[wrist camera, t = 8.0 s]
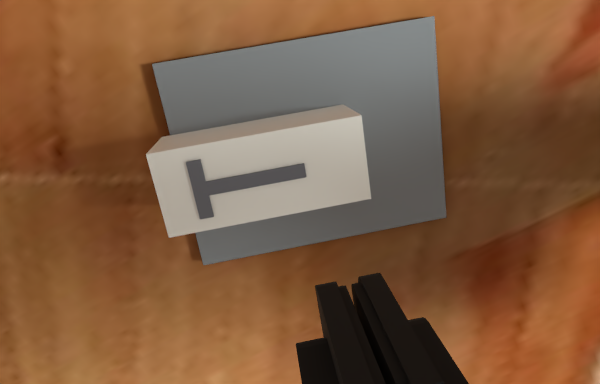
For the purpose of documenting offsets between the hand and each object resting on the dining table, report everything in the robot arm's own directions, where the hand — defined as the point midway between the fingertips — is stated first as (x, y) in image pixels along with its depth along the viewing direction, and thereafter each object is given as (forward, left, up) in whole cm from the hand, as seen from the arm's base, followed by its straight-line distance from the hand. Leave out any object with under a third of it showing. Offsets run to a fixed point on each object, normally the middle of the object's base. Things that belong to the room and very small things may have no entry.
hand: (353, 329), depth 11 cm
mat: (-2, 0, -21) cm, 21 cm away
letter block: (-4, 0, -18) cm, 18 cm away
